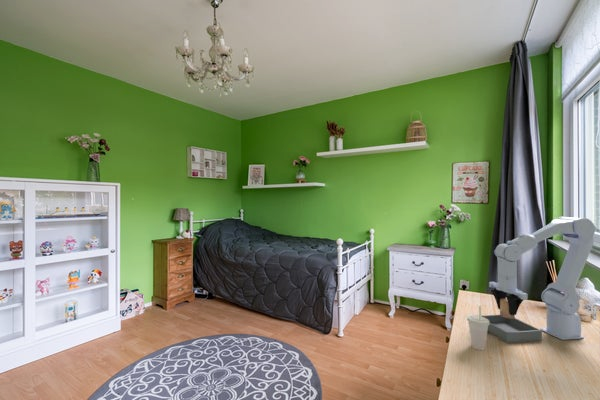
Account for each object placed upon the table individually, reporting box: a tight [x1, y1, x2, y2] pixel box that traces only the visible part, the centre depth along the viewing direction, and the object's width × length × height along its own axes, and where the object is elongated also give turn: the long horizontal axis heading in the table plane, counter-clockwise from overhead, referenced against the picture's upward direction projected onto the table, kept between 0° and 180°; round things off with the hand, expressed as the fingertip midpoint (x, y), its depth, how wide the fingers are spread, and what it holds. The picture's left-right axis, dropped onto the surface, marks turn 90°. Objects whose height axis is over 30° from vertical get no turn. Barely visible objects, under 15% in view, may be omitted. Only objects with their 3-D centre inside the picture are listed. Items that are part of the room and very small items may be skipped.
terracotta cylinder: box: [499, 298, 516, 319], centre depth 103 cm, size 4×4×6 cm
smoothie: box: [466, 305, 490, 351], centre depth 92 cm, size 6×6×14 cm
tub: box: [481, 314, 543, 344], centre depth 103 cm, size 14×14×4 cm
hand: (506, 311), depth 103 cm, fingers closed on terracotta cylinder, 4 cm apart
